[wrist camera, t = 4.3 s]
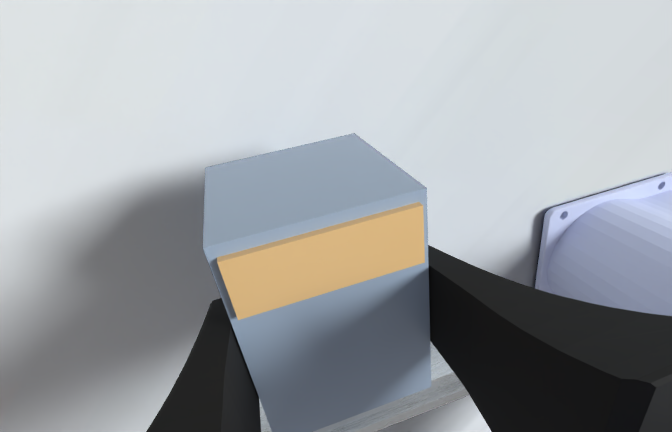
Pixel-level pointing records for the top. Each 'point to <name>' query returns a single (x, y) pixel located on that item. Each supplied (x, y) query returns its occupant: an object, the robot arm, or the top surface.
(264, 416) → the rail plate
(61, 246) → the top surface
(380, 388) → the module block
